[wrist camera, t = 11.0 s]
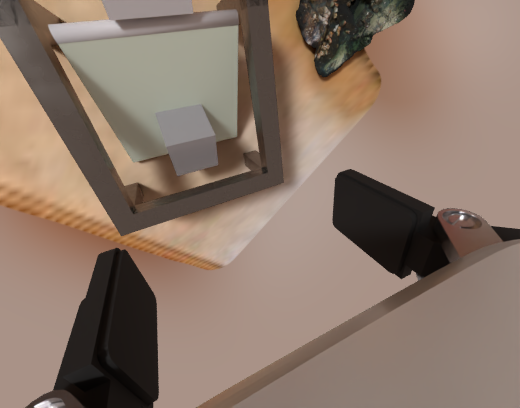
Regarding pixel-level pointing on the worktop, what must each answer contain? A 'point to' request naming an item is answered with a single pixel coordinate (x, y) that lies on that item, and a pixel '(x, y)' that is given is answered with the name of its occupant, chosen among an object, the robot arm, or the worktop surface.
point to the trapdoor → (156, 67)
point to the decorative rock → (345, 26)
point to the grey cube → (188, 138)
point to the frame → (92, 150)
